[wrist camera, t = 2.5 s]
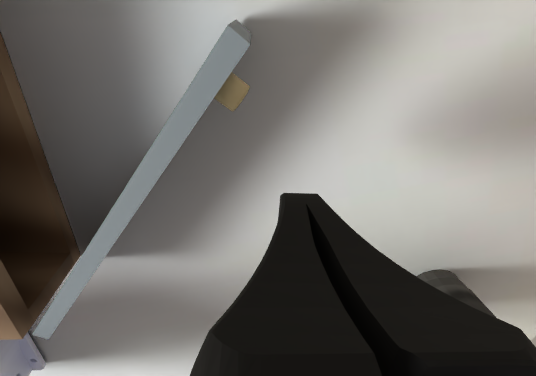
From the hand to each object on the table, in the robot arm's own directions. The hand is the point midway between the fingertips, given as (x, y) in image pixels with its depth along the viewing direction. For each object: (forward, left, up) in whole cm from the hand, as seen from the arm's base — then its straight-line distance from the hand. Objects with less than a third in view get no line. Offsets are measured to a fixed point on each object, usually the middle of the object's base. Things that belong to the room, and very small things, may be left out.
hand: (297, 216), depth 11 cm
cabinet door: (-2, +7, -6) cm, 10 cm away
